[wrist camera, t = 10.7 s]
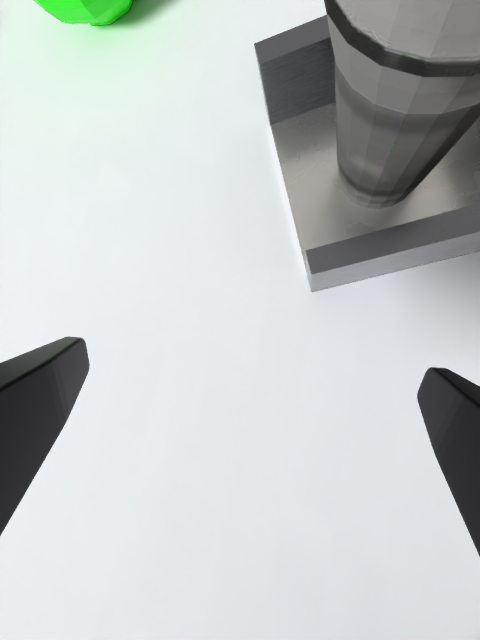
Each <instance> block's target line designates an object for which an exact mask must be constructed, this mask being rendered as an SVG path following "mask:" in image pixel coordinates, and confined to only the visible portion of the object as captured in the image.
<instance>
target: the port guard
mask: <svg viewBox="0 0 480 640" xmlns="http://www.w3.org/2000/svg"><path fill="white" fill-rule="evenodd" d="M254 46H255V51H256V56H257V62H258V67H259V72H260V78H261V83H262V88H263V93H264V99H265V104H266V109H267V114H268V118H269V122H270V126H271V130H272V134H273V138H274V142H275V146H276V150H277V154H278V158H279V162H280V167H281V171H282V175H283V179H284V183H285V187H286V191H287V195H288V199H289V203H290V207H291V211H292V215H293V219H294V223H295V227H296V232H297V236H298V240H299V244H300V248H301V252H302V256H303V260H304V264H305V268H306V272H307V276H308V280H309V284H310V288H311V292H315V291H319V290H323V289H327V288H331V287H335V286H339V285H343V284H347V283H351V282H356V281H360V280H364V279H368V278H372V277H376V276H380V275H384V274H388V273H392V272H396V271H400V270H404V269H408V268H412V267H416V266H420V265H424V264H428V263H432V262H437V261H441V260H445V259H449V258H453V257H457V256H461V255H465V254H469V253H473V252H477V251H480V117H479V118H478V119H477V120H476V121H475V123H474V124H473V125H472V126H471V127H470V128H469V129H468V130H467V132H466V133H465V134H464V135H463V136H462V137H461V138H460V139H459V141H458V142H457V143H456V144H455V145H454V146H453V147H452V148H451V150H450V151H449V152H448V153H447V154H446V155H445V156H444V157H443V159H442V160H441V161H440V162H439V163H438V164H437V165H436V166H435V168H434V169H433V170H432V171H431V172H430V173H429V174H428V175H427V177H426V178H425V179H424V180H423V181H422V182H421V183H420V184H419V185H418V186H417V187H416V188H415V189H414V190H413V191H412V192H411V193H410V194H409V195H408V196H407V197H406V198H405V199H404V200H402V201H400V202H399V203H397V204H395V205H393V206H390V207H386V208H382V209H371V208H365V207H362V206H360V205H357V204H355V203H354V202H352V201H351V200H350V199H349V198H348V197H346V195H345V193H344V192H343V190H342V188H341V186H340V181H339V170H338V165H337V141H336V98H335V56H334V52H333V47H332V42H331V37H330V31H329V25H328V19H327V15H325V16H323V17H320V18H318V19H315V20H313V21H310V22H308V23H305V24H303V25H300V26H298V27H295V28H293V29H290V30H288V31H285V32H283V33H280V34H277V35H275V36H272V37H270V38H267V39H265V40H262V41H260V42H257V43H255V44H254Z"/></svg>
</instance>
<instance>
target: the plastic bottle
mask: <svg viewBox="0 0 480 640" xmlns="http://www.w3.org/2000/svg"><path fill="white" fill-rule="evenodd" d="M34 1H35V2H36V3H37V4H39V5H40V6H41V7H42V8H43V9H44V10H45V11H47V12H48V13H50V14H51V15H53V16H54V17H56V18H57V19H59V20H60V21H61V22H65V23H70V24H91V25H92V26H93V25H108V24H112V23H113V22H114V21H116V20H117V19H118V18H120V17H121V16H123V15H124V14H125V13H127V12H128V11H129V9H130V7H131V5H132V3H133V1H134V0H34Z"/></svg>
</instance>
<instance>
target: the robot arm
mask: <svg viewBox="0 0 480 640" xmlns="http://www.w3.org/2000/svg"><path fill="white" fill-rule="evenodd" d="M88 371H89V359H88V353H87V348H86V343H85V341H84V339H82V338H79V337H65V338H62V339H60V340H57V341H54V342H52V343H49V344H47V345H44V346H42V347H39V348H37V349H34V350H32V351H29V352H27V353H24V354H22V355H19V356H17V357H14V358H12V359H9V360H7V361H4V362H2V363H0V535H1V534H2V532H3V530H4V529H5V527H6V525H7V523H8V522H9V520H10V518H11V517H12V515H13V513H14V511H15V510H16V508H17V506H18V504H19V503H20V501H21V499H22V498H23V496H24V494H25V492H26V491H27V489H28V487H29V486H30V484H31V482H32V480H33V479H34V477H35V475H36V473H37V472H38V470H39V468H40V467H41V465H42V463H43V461H44V460H45V458H46V456H47V455H48V453H49V451H50V449H51V448H52V446H53V444H54V442H55V441H56V439H57V437H58V436H59V434H60V432H61V430H62V429H63V427H64V425H65V423H66V421H67V419H68V417H69V415H70V413H71V411H72V408H73V406H74V404H75V401H76V399H77V397H78V395H79V392H80V390H81V388H82V385H83V383H84V381H85V379H86V376H87V374H88ZM417 399H418V403H419V407H420V410H421V413H422V416H423V419H424V422H425V425H426V429H427V432H428V435H429V438H430V441H431V444H432V447H433V450H434V453H435V455H436V458H437V460H438V463H439V465H440V467H441V470H442V472H443V474H444V476H445V479H446V481H447V483H448V486H449V488H450V490H451V492H452V495H453V497H454V499H455V501H456V504H457V506H458V508H459V511H460V513H461V515H462V517H463V520H464V522H465V524H466V526H467V529H468V531H469V533H470V536H471V538H472V540H473V542H474V545H475V547H476V549H477V551H478V554H479V556H480V386H478V385H476V384H474V383H472V382H470V381H469V380H467V379H465V378H463V377H461V376H460V375H458V374H456V373H454V372H452V371H450V370H449V369H446V368H436V367H431V368H429V369H428V370H427V371H426V373H425V376H424V378H423V380H422V383H421V385H420V388H419V390H418V394H417Z"/></svg>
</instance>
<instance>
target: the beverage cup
mask: <svg viewBox="0 0 480 640" xmlns="http://www.w3.org/2000/svg"><path fill="white" fill-rule="evenodd" d="M324 2H325V7H326V12H327V19H328V25H329V31H330V37H331V42H332V47H333V52H334V56H335V98H336V141H337V165H338V170H339V181H340V186H341V188H342V190H343V192H344V193H345V195H346V197H348V198H349V199H350V200H351V201H352V202H354V203H355V204H357V205H360V206H362V207H365V208H371V209H382V208H386V207H390V206H393V205H395V204H397V203H399V202H400V201H402V200H404V199H405V198H406V197H407V196H408V195H409V194H410V193H411V192H412V191H413V190H414V189H415V188H416V187H417V186H418V185H419V184H420V183H421V182H422V181H423V180H424V179H425V178H426V177H427V175H428V174H429V173H430V172H431V171H432V170H433V169H434V168H435V166H436V165H437V164H438V163H439V162H440V161H441V160H442V159H443V157H444V156H445V155H446V154H447V153H448V152H449V151H450V150H451V148H452V147H453V146H454V145H455V144H456V143H457V142H458V141H459V139H460V138H461V137H462V136H463V135H464V134H465V133H466V132H467V130H468V129H469V128H470V127H471V126H472V125H473V124H474V123H475V121H476V120H477V119H478V118H479V117H480V0H324Z"/></svg>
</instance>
